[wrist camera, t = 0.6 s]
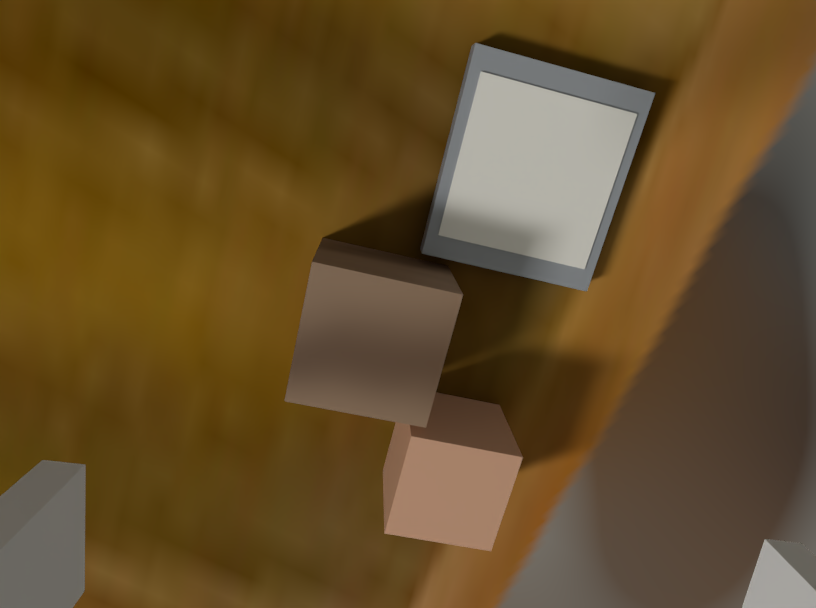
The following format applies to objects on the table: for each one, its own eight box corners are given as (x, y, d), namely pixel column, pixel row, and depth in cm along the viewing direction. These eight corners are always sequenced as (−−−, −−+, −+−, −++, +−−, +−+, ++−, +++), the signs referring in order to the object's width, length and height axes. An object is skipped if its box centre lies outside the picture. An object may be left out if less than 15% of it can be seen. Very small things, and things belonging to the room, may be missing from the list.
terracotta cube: (405, 385, 29) (411, 436, 24) (499, 404, 30) (522, 457, 25) (382, 469, 30) (384, 533, 26) (473, 485, 31) (491, 551, 26)
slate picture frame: (471, 46, 24) (475, 42, 23) (644, 94, 25) (656, 92, 24) (419, 249, 27) (421, 253, 26) (579, 285, 28) (587, 292, 27)
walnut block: (323, 237, 27) (312, 261, 22) (447, 265, 27) (463, 294, 23) (299, 354, 28) (284, 401, 24) (417, 378, 29) (425, 427, 24)
